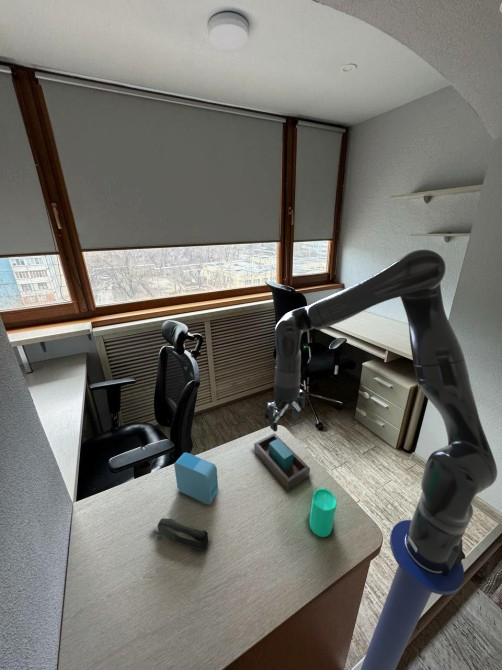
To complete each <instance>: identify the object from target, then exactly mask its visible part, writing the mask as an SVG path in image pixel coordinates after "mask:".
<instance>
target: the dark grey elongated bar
mask: <svg viewBox="0 0 502 670" xmlns="http://www.w3.org/2000/svg"><path fill="white" fill-rule="evenodd" d="M152 533H153V535H158V536H160V537H165V538H167V539H169V540H170V541H172V542H175V543H178V544H180V545H183V546H186V547H188V548H192V549H195V550H198V551H203V550H204V551H205V549H206V548H207V547H208V545H209V532H208V531H207V530H205V529H200V528H197V527H194V526H191V525H188V524H185V523H182V522H180V521H179V520H177V519H174V518H165V517H163V518H160V520H159V522H158V523H157V530H153V532H152Z"/></svg>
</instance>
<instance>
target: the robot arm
mask: <svg viewBox="0 0 502 670" xmlns="http://www.w3.org/2000/svg"><path fill="white" fill-rule="evenodd" d="M446 270H447V269H446V262H445V260H444V258H443V257H442V256H441V255H440V254H439V253H438V252H436V251H434V250H430V249H416V250H413V251H411V252H409V253H407V254H406V255H404V256H402V257H401V258H399V259H398V260H396V261H394V262H393V263H391V264H390V265H388V266H387V267H385V268H384V269H382V270H380V271H379V272H377V273H375V274H374V275H372V276H369V277H368V278H366V279H364V280H362V281H360V282H358V283H355V284H354V285H351V286H350V287H347V288H344V289H342V290H340V291H338V292H336V293H333V294H331V295H329V296H326V297H324V298H322V299H320V300H317V301H315V302H313V303H311V304H310V305H307V306H303V307H299V308H296V309H293V310H291V311H289V312H287V313H285V314H284V315H283V316H281V318H280V320H279V321H278V322H277V324H276V325H275V329H274V345H275V346H274V347H275V351H276V354H275V369H274V381H273V395H274V400H273V402H270V401H267V402H266V403H265V408H264V409H265V410H264V419H265V420H266V421H267V423H269V427H270V429H271V430H272V431H273V432H274V433H276V432H278V424H279V423H278V422H279V419H280V418H281V417H282V416H283V415H284V413H285V412H287V411H288V410H291V418H292V420H294V421H295V422H297V421H299V418H300V412H301V411H302V409H303V408H305V407H306V392H305V391H304V390H302V389H301V376H302V375H301V365H302V352H301V340H302V335H303V334H304V333H305V332H308V331H311V330H314V329H315V330H324V329H326V328H329V327H331V326H334V325H337V324H339V323H342V322H344V321H346V320H348V319H350V318H353V317H355V316H356V315H358V314H360V313H362V312H365V311H366V310H368V309H370V308H372V307H374V306H376V305H377V306H378V305H379V304H382V303H384V302H387V301H390V300H394V299H397V298H400V300H401V303H402V306H403V308H404V311H405V315H406V318H407V322H408V323H407V324H408V332H409V343H410V344H409V345H410V350H411V357H412V363H413V368H414V371H415V376H416V380H417V383H418V385H419V389H420V390H421V391H422V393H423V395H424V396H425V397H426V398H427V399H428V401H429V402H430V403H431V405H432V406H434V408H435V409H436V410H437V411H438V413H439V414H440V416H441V418H442V420H443V423H444V427H445V432H446V436H447V445H446V446H443V447H441V448H439V449H437V450H435V451H433V452H432V453H431V454H430V455H429V457H428V458H427V460H426V463H425V467H424V471H423V475H422V478H421V481H420V489H421V493H420V497H419V499H418V502H417V505H416V507H415V510H414V514H413V516H412V519H411V520H412V521H411V524H410V527H409V530H408V532H407V534H406V537H405V540H404V544H405V548H406V551H407V553H408V555H409V556H410V558H411V559H412V560H413V562H414V563H415V564H416V565H418V566H419V567H420V568H421V569H423V570H425V571H426V572H429V573H431V574H436V575H439V574H442V575H444V576H446V577H447V576H448V574H449V572H450V570H451V568H452V566H453V564H454V562H455V563H456V564H458V565H460V563H461V562H462V563H463V560H465V559H466V554H465V553H464V551H463V536H464V534H465V532H466V530H467V528H468V527H469V524H470V523H471V520H472V518H473V515H474V508H473V504H472V502H473V500H474V498H475V497H476V496H477V495H478V494H479V493H482V492H484V491H485V490H486V489H488V488H490V487H491V486H492V485H493V484H494V483H495V482H496V481H497V477H498V467H497V463H496V460H495V457H494V454H493V452H492V450H491V446H490V444H489V441H488V439H487V436H486V434H485V431H484V427H483V425H482V422H481V419H480V415H479V411H478V407H477V403H476V400H475V396H474V392H473V389H472V384H471V380H470V379H471V378H470V374H469V370H468V366H467V362H466V358H465V355H464V354H465V353H464V351H463V349H462V346H461V344H460V342H459V339H458V337H457V335H456V332H455V331H454V329H453V327H452V325H451V323H450V320H449V319H448V317H447V313H446V310H445V305H444V301H443V294H442V284H441V282H443V280H444V277H445V274H446ZM278 410H279V411H278Z"/></svg>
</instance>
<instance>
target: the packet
mask: <svg viewBox="0 0 502 670" xmlns="http://www.w3.org/2000/svg"><path fill="white" fill-rule="evenodd" d="M289 448H290V447H289ZM289 448H287V447H286V446H285V445H284V444H283V443H282V442H281V441H280V440H279V439H276V440H274V441H272V442H270V443H269V456H270V458H271V459H272V460H273V461H274V462H275V463H276V464H277V465H278V466H279V468H280V469H281V470H282V471H283V472H285V471H287V470H288V469H290V468H292V467H293V456H294V453H295V452H294V451H293V450H292V449H291V448H290V449H291V450H292V451H293V452H294V453H293V452H292V451H291V450H290V449H289Z"/></svg>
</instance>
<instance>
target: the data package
mask: <svg viewBox="0 0 502 670" xmlns="http://www.w3.org/2000/svg"><path fill="white" fill-rule="evenodd" d="M173 466H174V474H175V481H176V488H177V489H178V490H179V492H181V493H183V494H185V495H186V496H189V497H191V498H193V499H195V500H197V501H198V502H201V503H203V504H205V505H211V503H212V502H213V500H214V498H215V497H216V496H217V494H218V493H219V483H218V482H219V481H218V469H217V466H216V464H214V463H213V462H211V461H208V460H206V459H204V458H201V457H199V456H196V455H194V454H191V453H189V452H183V453H182V454H181V455H180V457H179V458H178V459H177V460H176V461H175V462H174V463H173Z"/></svg>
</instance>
